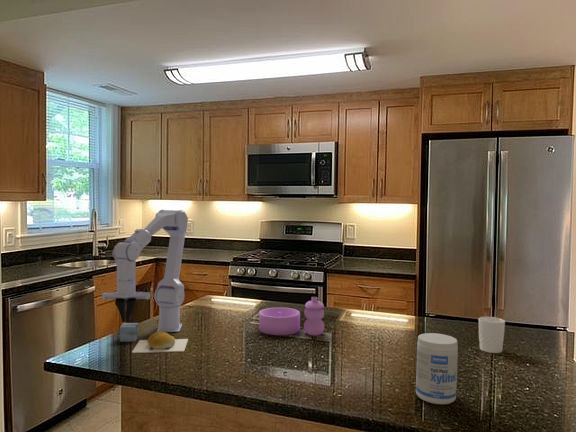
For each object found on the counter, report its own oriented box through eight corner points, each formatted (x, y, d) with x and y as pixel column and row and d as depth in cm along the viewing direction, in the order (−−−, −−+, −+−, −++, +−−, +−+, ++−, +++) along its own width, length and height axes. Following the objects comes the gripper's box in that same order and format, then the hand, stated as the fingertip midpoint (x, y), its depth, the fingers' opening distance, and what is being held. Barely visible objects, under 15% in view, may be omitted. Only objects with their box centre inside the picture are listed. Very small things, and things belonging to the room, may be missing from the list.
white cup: (483, 344, 152) (484, 315, 151) (507, 350, 146) (508, 319, 146) (473, 349, 146) (474, 319, 146) (498, 355, 140) (499, 324, 140)
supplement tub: (434, 408, 104) (435, 346, 103) (407, 392, 112) (408, 334, 112) (465, 401, 108) (466, 341, 107) (437, 386, 116) (438, 330, 116)
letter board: (139, 341, 151) (139, 340, 151) (188, 339, 153) (188, 338, 153) (131, 353, 139) (131, 352, 139) (184, 351, 141) (184, 350, 141)
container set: (252, 332, 163) (252, 296, 162) (269, 322, 177) (269, 288, 177) (317, 341, 154) (317, 302, 153) (329, 329, 168) (330, 294, 167)
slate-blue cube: (123, 337, 155) (123, 323, 155) (138, 337, 156) (138, 322, 155) (119, 341, 150) (119, 327, 150) (135, 341, 151) (135, 326, 151)
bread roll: (156, 351, 140) (155, 338, 140) (144, 344, 146) (144, 332, 146) (180, 346, 145) (180, 333, 145) (167, 339, 152) (167, 327, 152)
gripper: (99, 282, 139) (99, 325, 139) (147, 281, 141) (147, 324, 141) (105, 278, 146) (105, 319, 146) (151, 277, 148) (151, 318, 148)
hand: (126, 321), depth 144 cm, fingers closed
